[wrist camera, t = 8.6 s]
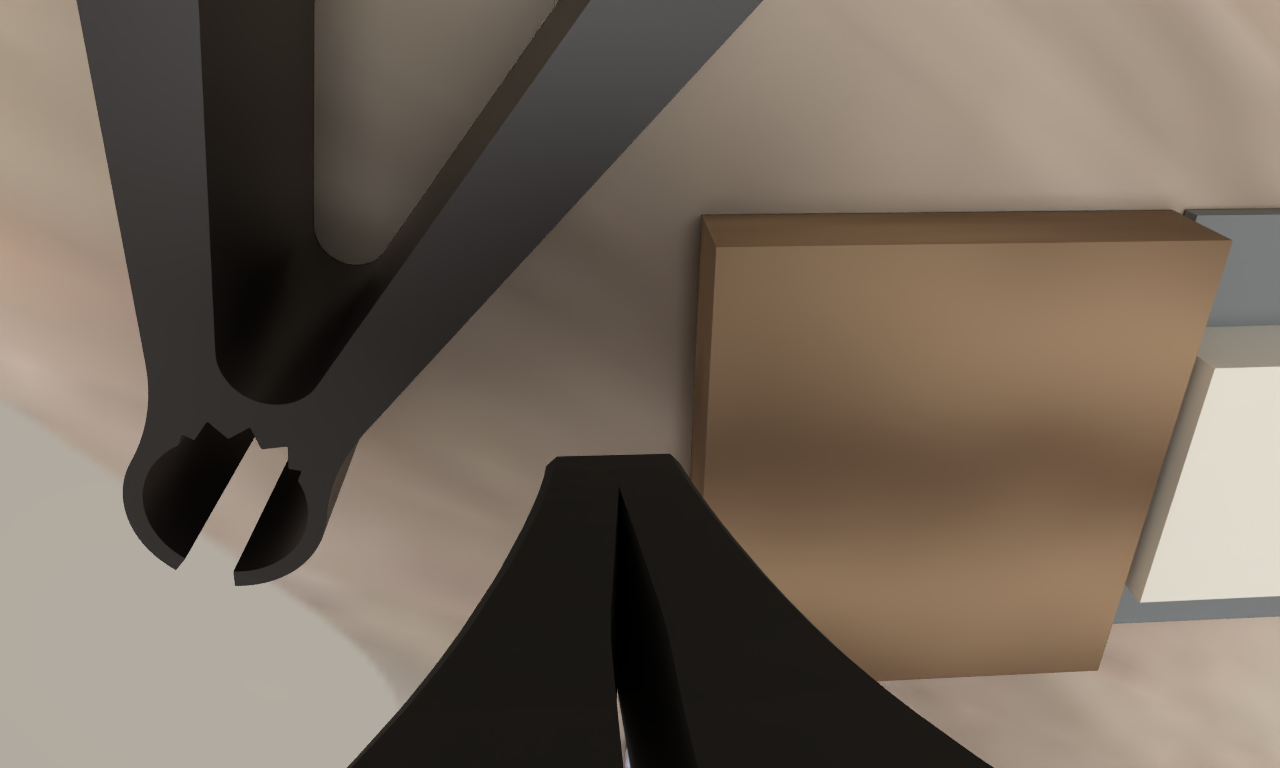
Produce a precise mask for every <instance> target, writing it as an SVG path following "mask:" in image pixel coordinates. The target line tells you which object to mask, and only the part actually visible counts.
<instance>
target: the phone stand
mask: <svg viewBox="0 0 1280 768" xmlns="http://www.w3.org/2000/svg"><path fill="white" fill-rule="evenodd" d="M762 1H763V0H559V2H558V3H557V5H556V6H555V8H554V9H553V10H552V12H551V13H550V15H549V16H548V18H547V19H546V20H545V22H544V23H543V25H542V26H541V28H540V29H539V31H538V32H537V33H536V35H535V36H534V38H533V39H532V41H531V42H530V43H529V45H528V46H527V48H526V49H525V51H524V52H523V53H522V55H521V56H520V58H519V59H518V61H517V62H516V64H515V65H514V66H513V68H512V69H511V71H510V72H509V74H508V75H507V76H506V78H505V79H504V81H503V82H502V84H501V85H500V87H499V88H498V89H497V91H496V92H495V94H494V95H493V97H492V98H491V99H490V101H489V102H488V104H487V105H486V107H485V108H484V109H483V111H482V112H481V114H480V115H479V117H478V118H477V120H476V121H475V122H474V124H473V125H472V127H471V128H470V130H469V131H468V132H467V134H466V135H465V137H464V138H463V140H462V141H461V142H460V144H459V145H458V147H457V148H456V150H455V151H454V153H453V154H452V155H451V157H450V158H449V160H448V161H447V163H446V164H445V165H444V167H443V168H442V170H441V171H440V173H439V174H438V175H437V177H436V178H435V180H434V181H433V183H432V184H431V186H430V187H429V188H428V190H427V191H426V193H425V194H424V196H423V197H422V198H421V200H420V201H419V203H418V204H417V206H416V207H415V208H414V210H413V211H412V213H411V214H410V216H409V217H408V219H407V220H406V221H405V223H404V224H403V226H402V227H401V229H400V230H399V231H398V233H397V234H396V236H395V237H394V239H393V240H392V242H391V243H390V244H389V246H388V247H387V249H386V250H385V252H384V253H383V254H382V255H381V256H380V257H379V258H377V259H376V260H374V261H372V262H370V263H367V264H364V265H348V264H344V263H341V262H339V261H337V260H335V259H333V258H332V257H330V256H329V255H328V254H327V253H326V252H325V251H324V250H323V249H322V248H321V247H320V245H319V243H318V242H317V239H316V237H315V234H314V228H313V179H314V0H77V5H78V10H79V15H80V21H81V26H82V31H83V36H84V42H85V47H86V52H87V57H88V63H89V68H90V73H91V79H92V84H93V89H94V94H95V100H96V105H97V110H98V115H99V121H100V126H101V131H102V136H103V142H104V147H105V152H106V158H107V163H108V168H109V173H110V179H111V184H112V189H113V194H114V200H115V205H116V210H117V215H118V221H119V226H120V231H121V237H122V242H123V247H124V252H125V258H126V263H127V268H128V273H129V279H130V284H131V289H132V294H133V300H134V305H135V310H136V316H137V321H138V326H139V331H140V337H141V342H142V347H143V352H144V358H145V363H146V369H147V377H148V411H147V417H146V423H145V427H144V431H143V435H142V438H141V441H140V444H139V446H138V448H137V451H136V453H135V455H134V457H133V459H132V461H131V463H130V465H129V467H128V469H127V472H126V475H125V479H124V484H123V502H124V507H125V511H126V515H127V517H128V520H129V522H130V524H131V526H132V528H133V530H134V532H135V533H136V535H137V536H138V538H139V539H140V540H141V541H142V543H143V544H144V545H145V546H146V547H147V548H148V549H149V550H150V551H151V552H152V553H153V554H154V555H155V556H156V557H158V558H159V559H160V560H161V561H163V562H164V563H166V564H167V565H169V566H170V567H172V568H174V569H175V570H176V569H177V568H178V567H179V566H180V564H181V563H182V562H183V561H184V559H185V558H186V556H187V554H188V553H189V551H190V549H191V547H192V546H193V544H194V542H195V540H196V539H197V537H198V535H199V533H200V532H201V530H202V528H203V526H204V525H205V523H206V521H207V519H208V518H209V516H210V514H211V512H212V511H213V509H214V507H215V505H216V504H217V502H218V500H219V498H220V497H221V495H222V493H223V491H224V490H225V488H226V486H227V484H228V483H229V481H230V479H231V477H232V476H233V474H234V472H235V470H236V469H237V467H238V465H239V463H240V462H241V460H242V458H243V456H244V455H245V453H246V451H247V449H248V448H249V446H250V444H251V442H252V441H253V439H254V437H255V438H256V440H257V441H258V443H259V445H260V447H261V449H268V448H277V447H286V446H287V447H288V461H287V463H286V465H285V467H284V469H283V471H282V473H281V475H280V477H279V479H278V481H277V483H276V486H275V488H274V490H273V492H272V494H271V496H270V498H269V500H268V502H267V504H266V506H265V508H264V510H263V512H262V514H261V516H260V518H259V520H258V522H257V524H256V527H255V529H254V531H253V533H252V535H251V537H250V539H249V541H248V543H247V545H246V547H245V549H244V551H243V553H242V555H241V557H240V559H239V561H238V563H237V565H236V568H235V570H234V580H235V586H244V585H245V586H246V585H255V584H261V583H266V582H270V581H273V580H276V579H278V578H281V577H283V576H285V575H287V574H289V573H291V572H293V571H294V570H296V569H297V568H299V567H300V566H301V565H302V564H304V563H305V562H306V561H307V560H308V559H309V558H310V557H311V556H312V554H313V553H314V552H315V550H316V549H317V547H318V546H319V544H320V542H321V540H322V537H323V535H324V532H325V529H326V526H327V524H328V521H329V518H330V516H331V513H332V510H333V508H334V505H335V502H336V500H337V497H338V494H339V492H340V489H341V486H342V484H343V481H344V478H345V476H346V473H347V470H348V468H349V465H350V462H351V460H352V457H353V454H354V452H355V449H356V446H357V444H358V441H359V439H360V438H361V437H362V435H363V434H364V433H365V432H366V431H367V430H368V429H369V428H370V426H371V425H372V424H373V423H374V422H375V421H376V420H377V419H378V418H379V417H380V416H381V415H382V413H383V412H384V411H385V410H386V409H387V408H388V407H389V406H390V405H391V404H392V403H393V401H394V400H395V399H396V398H397V397H398V396H399V395H400V394H401V393H402V392H403V391H404V390H405V388H406V387H407V386H408V385H409V384H410V383H411V382H412V381H413V380H414V379H415V378H416V377H417V375H418V374H419V373H420V372H421V371H422V370H423V369H424V368H425V367H426V366H427V365H428V363H429V362H430V361H431V360H432V359H433V358H434V357H435V356H436V355H437V354H438V353H439V352H440V350H441V349H442V348H443V347H444V346H445V345H446V344H447V343H448V342H449V341H450V340H451V339H452V337H453V336H454V335H455V334H456V333H457V332H458V331H459V330H460V329H461V328H462V327H463V325H464V324H465V323H466V322H467V321H468V320H469V319H470V318H471V317H472V316H473V315H474V314H475V312H476V311H477V310H478V309H479V308H480V307H481V306H482V305H483V304H484V303H485V302H486V301H487V299H488V298H489V297H490V296H491V295H492V294H493V293H494V292H495V291H496V290H497V289H498V287H499V286H500V285H501V284H502V283H503V282H504V281H505V280H506V279H507V278H508V277H509V276H510V274H511V273H512V272H513V271H514V270H515V269H516V268H517V267H518V266H519V265H520V264H521V263H522V261H523V260H524V259H525V258H526V257H527V256H528V255H529V254H530V253H531V252H532V251H533V249H534V248H535V247H536V246H537V245H538V244H539V243H540V242H541V241H542V240H543V239H544V238H545V236H546V235H547V234H548V233H549V232H550V231H551V230H552V229H553V228H554V227H555V226H556V225H557V223H558V222H559V221H560V220H561V219H562V218H563V217H564V216H565V215H566V214H567V213H568V211H569V210H570V209H571V208H572V207H573V206H574V205H575V204H576V203H577V202H578V201H579V200H580V198H581V197H582V196H583V195H584V194H585V193H586V192H587V191H588V190H589V189H590V188H591V187H592V185H593V184H594V183H595V182H596V181H597V180H598V179H599V178H600V177H601V176H602V175H603V173H604V172H605V171H606V170H607V169H608V168H609V167H610V166H611V165H612V164H613V163H614V162H615V160H616V159H617V158H618V157H619V156H620V155H621V154H622V153H623V152H624V151H625V150H626V149H627V147H628V146H629V145H630V144H631V143H632V142H633V141H634V140H635V139H636V138H637V137H638V136H639V134H640V133H641V132H642V131H643V130H644V129H645V128H646V127H647V126H648V125H649V124H650V122H651V121H652V120H653V119H654V118H655V117H656V116H657V115H658V114H659V113H660V112H661V111H662V109H663V108H664V107H665V106H666V105H667V104H668V103H669V102H670V101H671V100H672V99H673V98H674V96H675V95H676V94H677V93H678V92H679V91H680V90H681V89H682V88H683V87H684V86H685V84H686V83H687V82H688V81H689V80H690V79H691V78H692V77H693V76H694V75H695V74H696V73H697V71H698V70H699V69H700V68H701V67H702V66H703V65H704V64H705V63H706V62H707V61H708V60H709V58H710V57H711V56H712V55H713V54H714V53H715V52H716V51H717V50H718V49H719V48H720V46H721V45H722V44H723V43H724V42H725V41H726V40H727V39H728V38H729V37H730V36H731V35H732V33H733V32H734V31H735V30H736V29H737V28H738V27H739V26H740V25H741V24H742V23H743V22H744V20H745V19H746V18H747V17H748V16H749V15H750V14H751V13H752V12H753V11H754V10H755V8H756V7H757V6H758V5H759V4H760V3H761V2H762Z"/></svg>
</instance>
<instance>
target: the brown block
mask: <svg viewBox="0 0 1280 768" xmlns="http://www.w3.org/2000/svg"><path fill="white" fill-rule="evenodd" d="M1232 241H1233V240H1231V239H1229V238H1227V237H1225V236H1223V235H1221V234H1219V233H1217V232H1215V231H1213V230H1211V229H1209V228H1207V227H1205V226H1203V225H1201V224H1199V223H1197V222H1195V221H1193V220H1191V219H1189V218H1187V217H1185V216H1183V215H1181V214H1179V213H1177V212H1175V211H1173V210H1131V211H1037V212H944V213H850V214H756V215H702V221H701V244H700V266H699V289H698V312H697V335H696V358H695V381H694V404H693V427H692V450H691V473H690V480H691V481H692V483H693V484H694V486H695V487H696V489H697V490H698V491H699V493H700V494H701V496H702V497H703V498H704V500H705V501H706V502H707V504H708V505H709V506H710V508H711V509H712V510H713V512H714V513H715V514H716V516H717V517H718V518H719V520H720V521H721V522H722V523H723V525H724V526H725V527H726V528H727V530H728V531H729V532H730V533H731V535H732V536H733V537H734V538H735V540H736V541H737V542H738V543H739V544H740V545H741V547H742V548H743V549H744V550H745V551H746V552H747V554H748V555H749V556H750V557H751V558H752V560H753V561H754V562H755V563H756V564H757V565H758V567H759V568H760V569H761V570H762V571H763V572H764V574H765V575H766V576H767V577H768V578H769V579H770V580H771V581H772V582H773V583H774V585H775V586H776V587H777V588H778V589H779V590H780V591H781V592H782V593H783V594H784V595H785V596H786V597H787V598H788V599H789V600H790V601H791V603H792V604H793V605H794V606H795V607H796V608H797V609H798V610H799V611H800V612H801V613H802V614H803V615H804V616H805V617H806V618H807V619H808V620H809V621H810V622H811V623H812V624H813V625H814V626H815V627H816V628H817V629H818V630H819V631H820V632H821V633H822V634H823V635H824V636H826V637H827V638H828V639H829V640H830V641H831V642H832V643H833V644H834V645H835V646H836V647H837V648H838V649H839V650H841V651H842V652H843V653H844V654H845V655H846V656H847V657H848V658H849V659H851V660H852V661H853V662H854V663H855V664H856V665H858V666H859V667H860V668H861V669H862V670H864V671H865V672H866V673H867V674H868V675H869V676H871V677H872V678H873V679H874V680H875V681H889V680H910V679H931V678H952V677H972V676H993V675H1014V674H1035V673H1055V672H1076V671H1097V670H1098V668H1099V665H1100V662H1101V659H1102V656H1103V652H1104V649H1105V646H1106V643H1107V640H1108V636H1109V633H1110V630H1111V627H1112V624H1113V621H1114V617H1115V614H1116V611H1117V608H1118V605H1119V601H1120V598H1121V595H1122V592H1123V589H1124V586H1125V582H1126V579H1127V576H1128V573H1129V570H1130V566H1131V563H1132V560H1133V557H1134V554H1135V550H1136V547H1137V544H1138V541H1139V538H1140V535H1141V531H1142V528H1143V525H1144V522H1145V519H1146V515H1147V512H1148V509H1149V506H1150V503H1151V499H1152V496H1153V493H1154V490H1155V487H1156V484H1157V480H1158V477H1159V474H1160V471H1161V468H1162V464H1163V461H1164V458H1165V455H1166V452H1167V448H1168V445H1169V442H1170V439H1171V436H1172V433H1173V429H1174V426H1175V423H1176V420H1177V417H1178V413H1179V410H1180V407H1181V404H1182V401H1183V398H1184V394H1185V391H1186V388H1187V385H1188V382H1189V378H1190V375H1191V372H1192V369H1193V366H1194V362H1195V359H1196V356H1197V353H1198V350H1199V347H1200V343H1201V340H1202V337H1203V334H1204V331H1205V327H1206V324H1207V321H1208V318H1209V315H1210V311H1211V308H1212V305H1213V302H1214V299H1215V296H1216V292H1217V289H1218V286H1219V283H1220V280H1221V276H1222V273H1223V270H1224V267H1225V264H1226V260H1227V257H1228V254H1229V251H1230V248H1231V245H1232Z"/></svg>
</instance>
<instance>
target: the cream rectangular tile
mask: <svg viewBox="0 0 1280 768" xmlns="http://www.w3.org/2000/svg"><path fill="white" fill-rule="evenodd" d="M1125 585H1126V586H1127V588H1128V589H1129V590H1130V591H1131V592H1132V594H1133V595H1134V596H1135V597H1136V598H1137V600H1138V601H1139V602H1140V603H1142V602H1164V601H1185V600H1206V599H1227V598H1249V597H1270V596H1280V325H1268V326H1229V327H1205V331H1204V334H1203V337H1202V340H1201V343H1200V347H1199V350H1198V353H1197V356H1196V359H1195V362H1194V366H1193V369H1192V372H1191V375H1190V378H1189V382H1188V385H1187V388H1186V391H1185V394H1184V398H1183V401H1182V404H1181V407H1180V410H1179V413H1178V417H1177V420H1176V423H1175V426H1174V429H1173V433H1172V436H1171V439H1170V442H1169V445H1168V448H1167V452H1166V455H1165V458H1164V461H1163V464H1162V468H1161V471H1160V474H1159V477H1158V480H1157V484H1156V487H1155V490H1154V493H1153V496H1152V499H1151V503H1150V506H1149V509H1148V512H1147V515H1146V519H1145V522H1144V525H1143V528H1142V531H1141V535H1140V538H1139V541H1138V544H1137V547H1136V550H1135V554H1134V557H1133V560H1132V563H1131V566H1130V570H1129V573H1128V576H1127V579H1126V582H1125Z"/></svg>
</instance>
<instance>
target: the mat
mask: <svg viewBox="0 0 1280 768" xmlns="http://www.w3.org/2000/svg"><path fill="white" fill-rule="evenodd" d="M1184 216H1185V217H1187V218H1189V219H1191V220H1193V221H1195V222H1197V223H1199V224H1201V225H1203V226H1205V227H1207V228H1209V229H1211V230H1213V231H1215V232H1217V233H1219V234H1221V235H1223V236H1225V237H1227V238H1229V239H1231V240H1233V241H1232V245H1231V248H1230V251H1229V254H1228V257H1227V260H1226V264H1225V267H1224V270H1223V273H1222V276H1221V280H1220V283H1219V286H1218V289H1217V292H1216V296H1215V299H1214V302H1213V305H1212V308H1211V311H1210V315H1209V318H1208V321H1207V324H1206V327H1229V326H1268V325H1280V209H1225V210H1186V211H1185V215H1184ZM1276 616H1280V596H1270V597H1249V598H1227V599H1206V600H1185V601H1164V602H1142V603H1140V602H1139V601H1138V600H1137V598H1136V597H1135V596H1134V595H1133V594H1132V592H1131V591H1130V590H1129V589H1128V588H1127V586H1126V585H1125V586H1124V589H1123V592H1122V595H1121V598H1120V601H1119V605H1118V608H1117V611H1116V614H1115V617H1114V621H1113V624H1119V623H1141V622H1164V621H1186V620H1209V619H1231V618H1254V617H1276Z"/></svg>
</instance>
